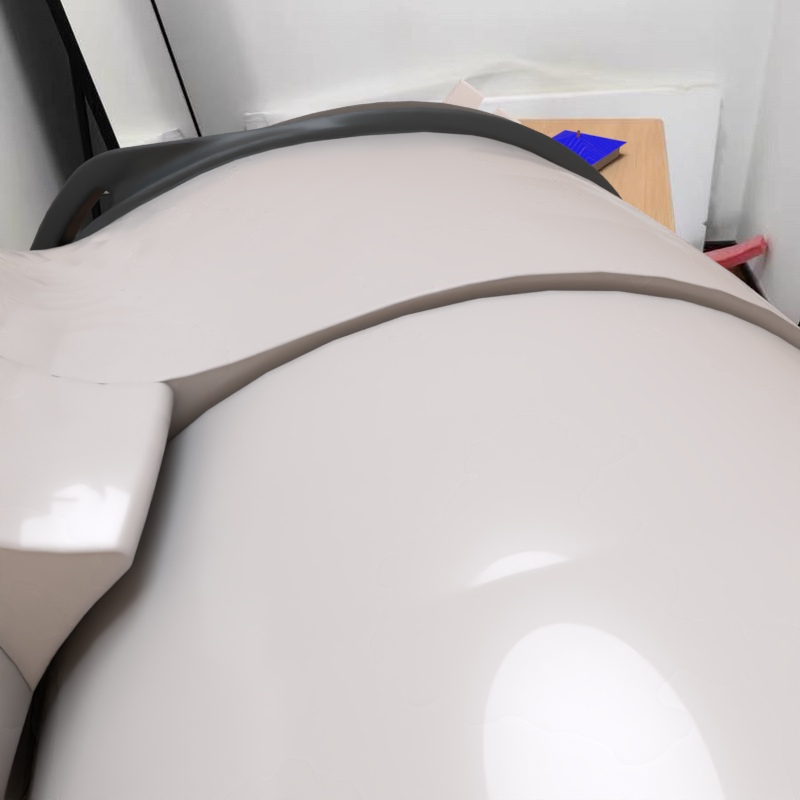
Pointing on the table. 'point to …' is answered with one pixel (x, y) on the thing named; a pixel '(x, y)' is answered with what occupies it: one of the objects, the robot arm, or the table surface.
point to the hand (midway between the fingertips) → (707, 635)
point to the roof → (591, 147)
